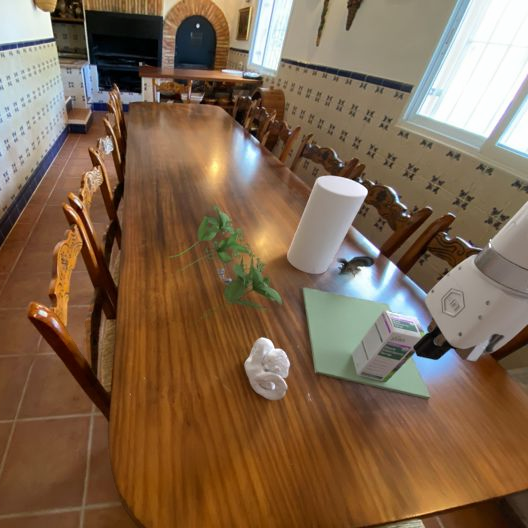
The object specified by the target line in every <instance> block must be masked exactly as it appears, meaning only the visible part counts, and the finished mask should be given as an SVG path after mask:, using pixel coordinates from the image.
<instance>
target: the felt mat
mask: <svg viewBox="0 0 528 528" xmlns="http://www.w3.org/2000/svg"><path fill="white" fill-rule="evenodd" d="M302 296H303V303H304V309H305V314H306V316H305V317H306V322H307V328H308V334H309V341H310V347H311V354H312V360H313V366H314V368H313V369H314V373H315V374H318V375H321V376H326V377H331V378H335V379H339V380H344V381H348V382H352V383H356V384H361V385H365V386H369V387H374V388H376V389H377V388H378V389H381V390H382V389H383V390H387V391H390V392H394V393H395V392H396V393H399V394H400V393H401V394H403V395H409V396H413V397H416V398H421V399H425V400H429V399H431V398H432V397H431V395H430V393H429V390H428V388H427V386H426V383H425V381H424V379H423V377H422V375H421V373H420V371H419V369H418V367H417V364H416V362H415V360H414V358H413V355H412V356H411V357H410V358H409V359H408V360H407V361H406V362H405V363H404V364H403V365H402V367H401V368H399V370H398V371H397V372H396V373H395V374H394V375H393V376H392V377H391V378H390V379H389V380H388V381H387V382H383V381H378V380H374V379H370V378H367V377H363V376H358V375H357V373H356V369H355V365H354V361H353V356H352V352H353V351H354V349H355V348H356V347H357V346H358V344H359V343H360V341H361V340H362V339H363V337H364V336H365V335H366V333H367V332H368V331H369V329H370V328H371V327H372V325H373V324H374V323H375V321H376V320H377V319H378V317H379V316H380V315H381V313H382V312H383V311H384V310H385V311H390V312H393V311H392V310H391V307H390V305H389V303H385V302H380V301H375V300H370V299H365V298H359V297H356V296H355V297H354V296H349V295H345V294H340V293H334V292H330V291H329V292H328V291H324V290H320V289H314V288H309V287H304V286H303V287H302Z"/></svg>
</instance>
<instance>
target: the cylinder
mask: <svg viewBox="0 0 528 528" xmlns="http://www.w3.org/2000/svg"><path fill="white" fill-rule="evenodd" d="M367 196H368V189H367V188H366V187H365V186H364V185H363V184H361V183H359V182H357V181H356V180H352V179H350V178H346V177H342V176H337V175H321V176H319V177H317V178H316V179H315V182H314V185H313V187H312V190H311V192H310V195H309V197H308V200H307V203H306V205H305V208H304V210H303V213H302V215H301V218H300V221H299V223H298V226H297V228H296V231H295V233H294V235H293V239H292V241H291V243H290V246H289V249H288V251H287V254H286V259H287V261H288V262H289V264H290V265H291V266H292V267H294V268H296V269H297V270H299V271H300V272H303V273H307V274H311V275H321V274H324V273H326V272H327V271H328V270H329V268H330V266H331V264H332V262H333V261H334V259H335V256H337V255H336V254H337V253H338V251H339V249H340V247H341V245H342V243H343V242H344V239H345V237H346V235H347V234H348V232H349V230H350V228H351V226H352V224H353V222H354V221H355V219H356V216H357V214H358V212H359V211H360V209H361V206H362V205H363V203H364V201H365V200H366V197H367Z"/></svg>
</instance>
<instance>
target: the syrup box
mask: <svg viewBox="0 0 528 528" xmlns="http://www.w3.org/2000/svg"><path fill="white" fill-rule="evenodd" d="M425 334H426V333H425V331H424V328H423V326H422V325H421V323H420V321H419V320H418V318H417V316H414V315H412V316H411V315H407V314H403V313H400V312H399V313H398V312H393V311H392V312H390V311H385V310H384V311H383V312H382V313H381V315H380V316H379V317H378V319H377V320H376V321H375V323H374V324H373V325H372V327H371V328H370V329H369V331H368V332H367V333H366V335H365V336H364V337H363V339H362V340H361V341H360V343H359V344H358V346H357V347H356V348H355V349H354V351H353V352H352V356H353V361H354V365H355V369H356V373H357V375H358V376H363V377H367V378H370V379H374V380H378V381H383V382H387V381H388V380H389V379H390V378H391V377H392V376H393V375H394V374H395V373H396V372H397V371H398V370H399V368H401V367H402V365H403V364H404V363H405V362H406V361H407V360H408V359H409V358H410V357H411V356H412V357H413V356H414V354H416V351H415V350H414V348H413V346H414V345H415V344H416V343H417V342H418V341H419V340H420V339H421V338H422V337H423V336H424V335H425Z"/></svg>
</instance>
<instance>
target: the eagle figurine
mask: <svg viewBox="0 0 528 528" xmlns="http://www.w3.org/2000/svg"><path fill="white" fill-rule="evenodd" d="M336 262H337V263H339V264H340V265H341V266H342V267H341V266H338V269H339V270H340V271H339V273H338V275H339V276H340V275H343V274H345V273H351V274H352V276H353V278H356V275H357V273H356V269H357V270H358V271H362V269H361V268H370V267H372V266H374V265H375V258H374V257H371V256H368V255H361V256H360V255H359V256H354V257H353V258H351V259H349V260H347V259H346V258H344V257H337V258H336Z"/></svg>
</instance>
